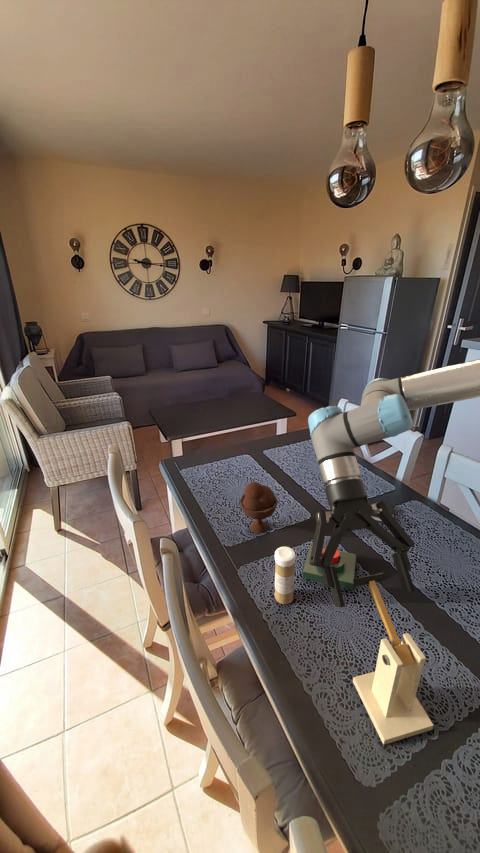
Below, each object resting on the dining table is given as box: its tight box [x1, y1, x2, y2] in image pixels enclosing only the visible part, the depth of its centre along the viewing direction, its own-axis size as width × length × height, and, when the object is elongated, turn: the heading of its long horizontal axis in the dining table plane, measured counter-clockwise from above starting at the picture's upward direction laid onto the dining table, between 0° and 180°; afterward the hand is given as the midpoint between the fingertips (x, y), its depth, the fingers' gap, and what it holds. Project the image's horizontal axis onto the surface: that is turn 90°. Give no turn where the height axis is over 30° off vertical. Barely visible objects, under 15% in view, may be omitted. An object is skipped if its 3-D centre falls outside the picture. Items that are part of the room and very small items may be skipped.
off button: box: [323, 547, 340, 564], centre depth 90 cm, size 4×4×2 cm
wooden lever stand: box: [352, 632, 434, 746], centre depth 60 cm, size 10×9×15 cm
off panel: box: [302, 544, 357, 591], centre depth 91 cm, size 12×10×4 cm
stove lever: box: [353, 572, 414, 667], centre depth 61 cm, size 14×6×2 cm, turn 14°
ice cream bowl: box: [239, 481, 279, 534], centre depth 105 cm, size 11×11×15 cm
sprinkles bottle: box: [274, 546, 297, 605], centre depth 82 cm, size 5×5×14 cm
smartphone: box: [368, 500, 395, 522], centre depth 113 cm, size 8×1×15 cm
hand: (375, 598), depth 64 cm, fingers open, 13 cm apart
